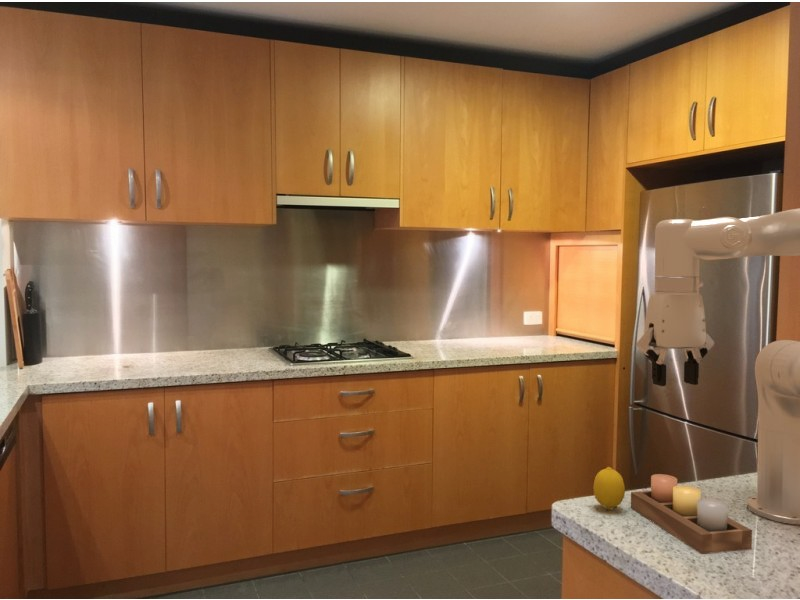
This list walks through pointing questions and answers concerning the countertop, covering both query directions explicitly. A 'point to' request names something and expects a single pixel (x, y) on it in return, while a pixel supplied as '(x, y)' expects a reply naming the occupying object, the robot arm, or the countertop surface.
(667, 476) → the pink cylinder
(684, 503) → the yellow short cylinder
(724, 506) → the grey short rounded cylinder
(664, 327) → the robot arm
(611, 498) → the lemon
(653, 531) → the countertop surface
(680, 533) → the wooden compartment tray
